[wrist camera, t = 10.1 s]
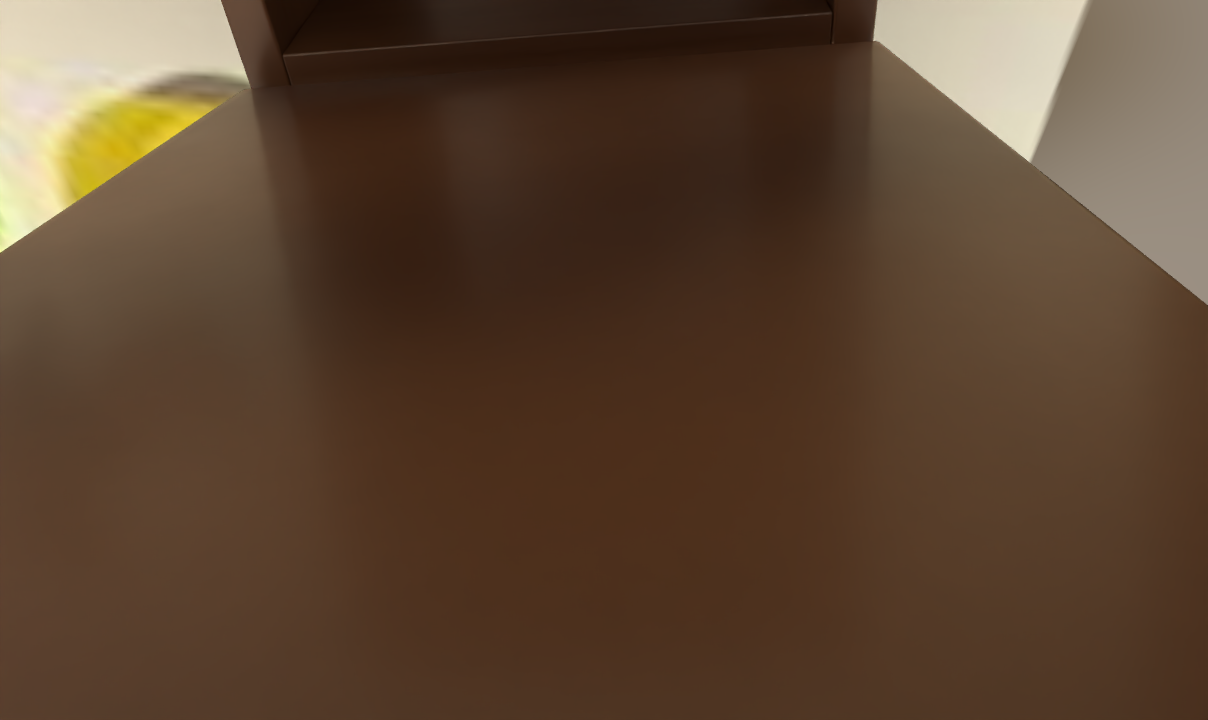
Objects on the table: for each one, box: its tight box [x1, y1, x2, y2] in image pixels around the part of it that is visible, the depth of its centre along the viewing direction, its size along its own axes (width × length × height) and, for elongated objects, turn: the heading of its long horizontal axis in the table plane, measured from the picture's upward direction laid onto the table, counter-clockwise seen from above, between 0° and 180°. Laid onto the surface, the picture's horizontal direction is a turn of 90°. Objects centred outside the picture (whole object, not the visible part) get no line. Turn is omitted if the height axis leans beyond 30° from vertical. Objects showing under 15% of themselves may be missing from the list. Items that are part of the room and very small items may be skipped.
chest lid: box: [0, 41, 1208, 720], centre depth 13 cm, size 17×13×5 cm
